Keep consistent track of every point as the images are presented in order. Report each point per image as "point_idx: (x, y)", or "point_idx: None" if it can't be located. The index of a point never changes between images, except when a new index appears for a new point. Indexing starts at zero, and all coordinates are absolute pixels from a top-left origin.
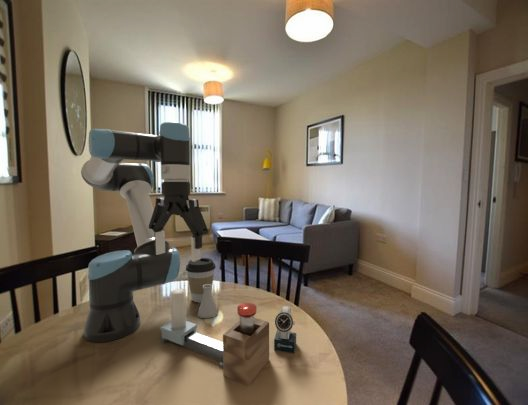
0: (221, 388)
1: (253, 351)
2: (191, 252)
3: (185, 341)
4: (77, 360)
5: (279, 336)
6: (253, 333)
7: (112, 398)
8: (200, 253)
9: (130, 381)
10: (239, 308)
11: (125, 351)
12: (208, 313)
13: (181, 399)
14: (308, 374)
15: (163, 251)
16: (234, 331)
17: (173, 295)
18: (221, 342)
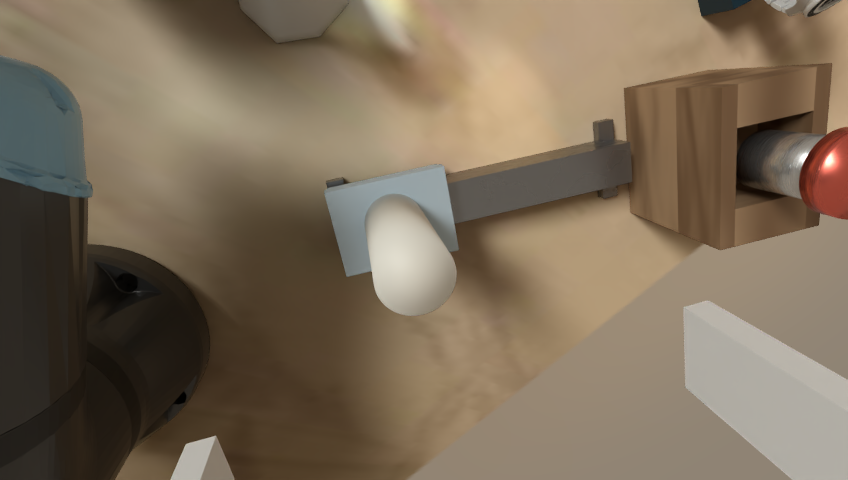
0: (654, 244)
1: None
2: (751, 442)
3: None
4: (245, 456)
5: (777, 9)
6: None
7: (470, 423)
8: (752, 326)
9: (450, 382)
10: (835, 205)
11: (306, 353)
12: (331, 9)
13: (598, 324)
14: (828, 47)
15: (220, 470)
16: (745, 209)
17: (430, 311)
18: (582, 157)
